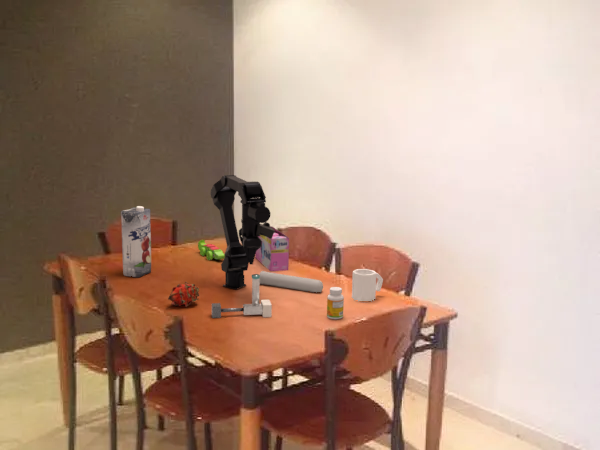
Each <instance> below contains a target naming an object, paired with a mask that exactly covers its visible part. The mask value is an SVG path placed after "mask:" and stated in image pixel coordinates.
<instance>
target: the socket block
mask: <svg viewBox="0 0 600 450" xmlns="http://www.w3.org/2000/svg"><path fill="white" fill-rule="evenodd" d="M260 304H262V305H263V314H262V318H272V313H273V312H272V309H273V307H272V306H273V304H272V302H271V300H270V299H260Z"/></svg>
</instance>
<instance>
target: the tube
mask: <svg viewBox="0 0 600 450" xmlns="http://www.w3.org/2000/svg"><path fill="white" fill-rule="evenodd" d="M259 275H260V282H259V285H265V286H270V287H278V288H283V289H289V290H296V291H303V292H308V291H310V293H314V292H316V293H317V292H320V293H322V292H323V289H324V285H323V282H322V281H321V280H320V279H315V278H314V279H313V278H309V277H300V276H297V275H296V276H295V275H290V274H283V273H282V274H281V273H276V272H272V271H264V270H261V271H260V272H259ZM317 294H318V293H317Z"/></svg>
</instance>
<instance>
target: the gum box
mask: <svg viewBox="0 0 600 450" xmlns="http://www.w3.org/2000/svg"><path fill="white" fill-rule="evenodd" d="M270 227H272V228H273V229H274V230H275V231H274V234H273V237H272V239H270V238H268V237H266V236H263V235H260V236H258V237H259V238H260V239H261V240H262V246H261V248H259V249H258V250H257V251H256V254H255V259H257V261H259V263H260V264H262V265H263V266H264V267H265V268H266V269H267V270H268V271H269V272H279V271H289V266H290V265H289V264H290V263H289V262H290V261H289V260H290V259H289V258H290V237H288V236H287V235H286V234H285V233H282V232H281V231H279V230H278V229H276V227H274V226H271V225H270Z"/></svg>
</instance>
